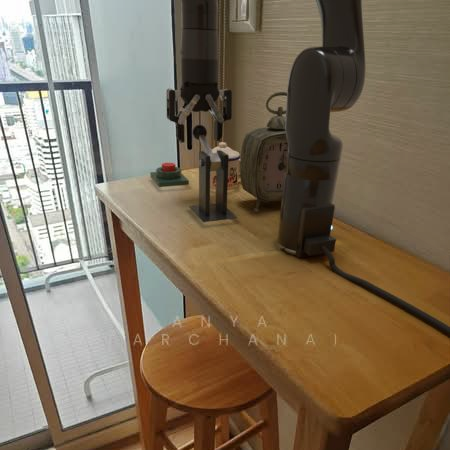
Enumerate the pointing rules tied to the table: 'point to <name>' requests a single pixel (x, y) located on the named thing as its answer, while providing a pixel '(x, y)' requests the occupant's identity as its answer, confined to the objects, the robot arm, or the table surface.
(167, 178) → the button box
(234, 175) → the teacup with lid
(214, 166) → the lever
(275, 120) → the tabletop clock
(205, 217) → the bracket
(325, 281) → the table surface
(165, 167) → the button
